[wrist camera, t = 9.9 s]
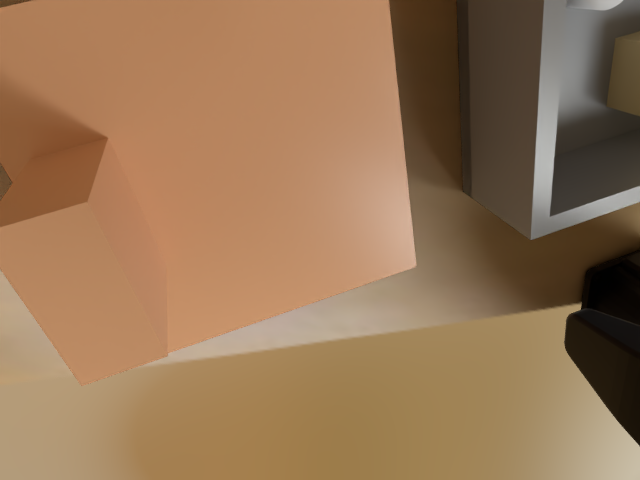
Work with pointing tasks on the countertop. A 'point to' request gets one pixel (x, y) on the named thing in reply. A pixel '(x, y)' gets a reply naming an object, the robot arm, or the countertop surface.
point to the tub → (550, 109)
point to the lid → (195, 167)
